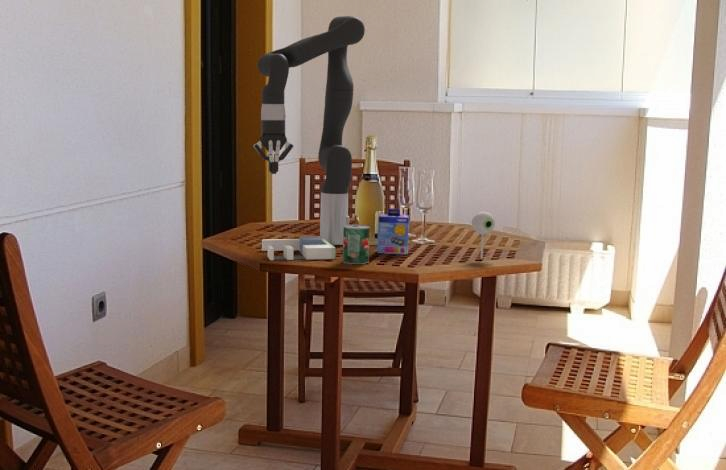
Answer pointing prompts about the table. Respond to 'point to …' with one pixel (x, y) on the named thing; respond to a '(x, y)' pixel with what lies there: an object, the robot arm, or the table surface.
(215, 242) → the table surface
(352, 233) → the canned tomato
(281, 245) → the white open shelf
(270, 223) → the table surface
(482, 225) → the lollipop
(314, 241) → the block
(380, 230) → the ink cartridge box
